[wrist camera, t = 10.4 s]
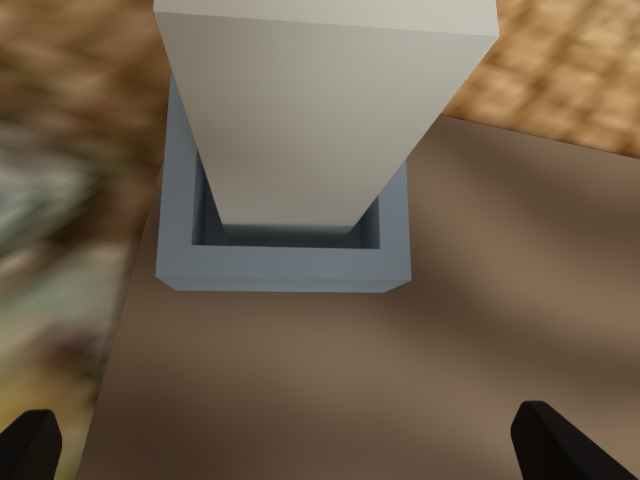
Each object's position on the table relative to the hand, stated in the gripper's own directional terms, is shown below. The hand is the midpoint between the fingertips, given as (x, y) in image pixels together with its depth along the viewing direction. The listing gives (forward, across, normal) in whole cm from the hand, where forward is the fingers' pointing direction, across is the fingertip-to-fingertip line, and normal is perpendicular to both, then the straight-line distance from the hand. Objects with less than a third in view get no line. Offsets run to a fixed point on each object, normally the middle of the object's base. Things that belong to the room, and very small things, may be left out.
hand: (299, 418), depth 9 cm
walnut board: (+9, -5, +4) cm, 11 cm away
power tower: (+11, 0, 0) cm, 11 cm away
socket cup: (+11, 0, +1) cm, 11 cm away
